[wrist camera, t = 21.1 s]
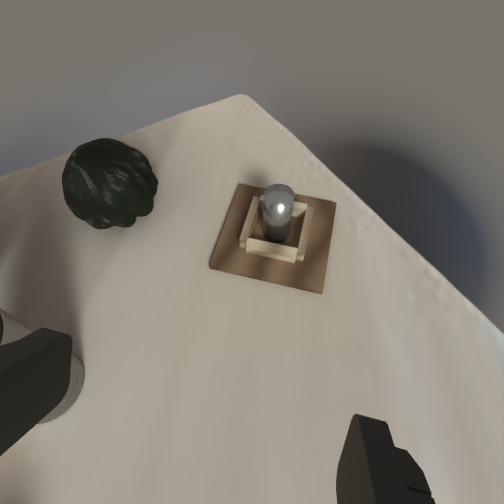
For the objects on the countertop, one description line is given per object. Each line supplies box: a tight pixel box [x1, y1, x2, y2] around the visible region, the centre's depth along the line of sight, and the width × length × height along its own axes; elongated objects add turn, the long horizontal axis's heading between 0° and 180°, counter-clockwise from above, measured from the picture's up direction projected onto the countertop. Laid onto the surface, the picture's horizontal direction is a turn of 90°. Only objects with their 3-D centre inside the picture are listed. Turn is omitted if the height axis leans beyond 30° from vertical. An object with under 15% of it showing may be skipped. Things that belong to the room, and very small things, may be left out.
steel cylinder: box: [263, 184, 295, 243], centre depth 52 cm, size 4×4×9 cm
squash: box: [62, 138, 158, 229], centre depth 55 cm, size 14×15×15 cm
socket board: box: [209, 184, 336, 294], centre depth 55 cm, size 18×18×4 cm
